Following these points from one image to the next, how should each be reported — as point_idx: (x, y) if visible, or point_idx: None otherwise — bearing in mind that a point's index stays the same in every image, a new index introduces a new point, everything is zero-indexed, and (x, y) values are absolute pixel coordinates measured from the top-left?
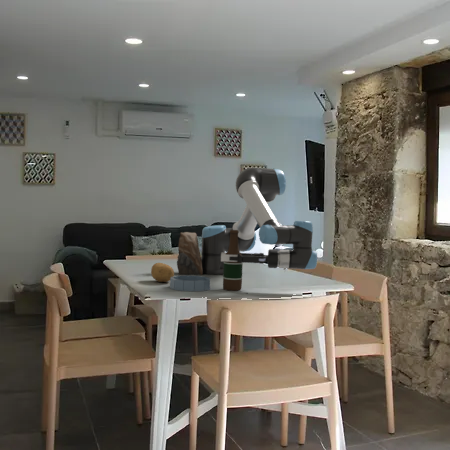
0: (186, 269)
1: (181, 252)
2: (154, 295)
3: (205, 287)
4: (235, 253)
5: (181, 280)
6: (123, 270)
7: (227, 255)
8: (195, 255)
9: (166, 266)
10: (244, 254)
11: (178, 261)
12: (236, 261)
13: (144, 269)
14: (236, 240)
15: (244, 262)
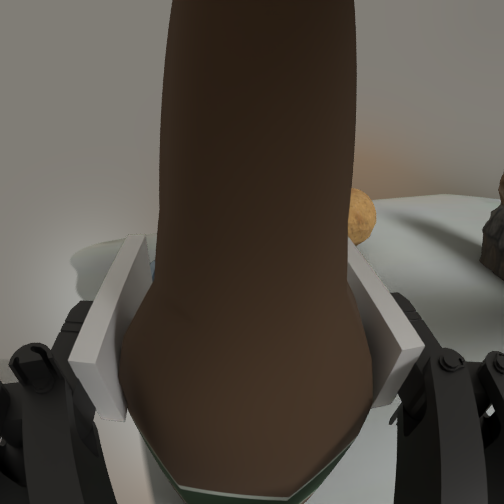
0: (496, 256)
1: (502, 203)
2: (74, 255)
3: None
4: (136, 327)
5: (151, 262)
6: (428, 200)
7: (112, 277)
8: None
9: None
10: (434, 458)
11: (486, 224)
12: (102, 408)
13: (469, 217)
14: (186, 73)
15: (4, 474)
